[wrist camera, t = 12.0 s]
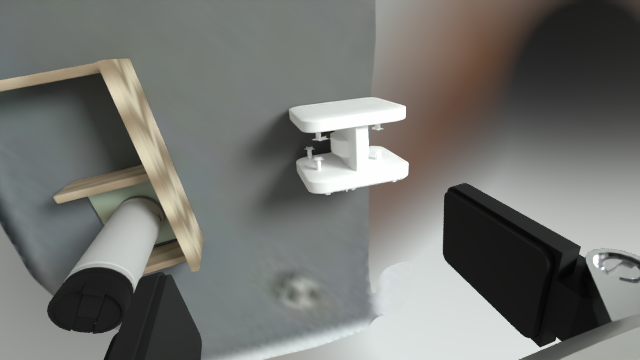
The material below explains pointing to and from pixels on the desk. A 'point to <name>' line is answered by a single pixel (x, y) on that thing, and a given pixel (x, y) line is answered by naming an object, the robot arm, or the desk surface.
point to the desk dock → (140, 180)
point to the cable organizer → (348, 145)
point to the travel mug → (109, 269)
